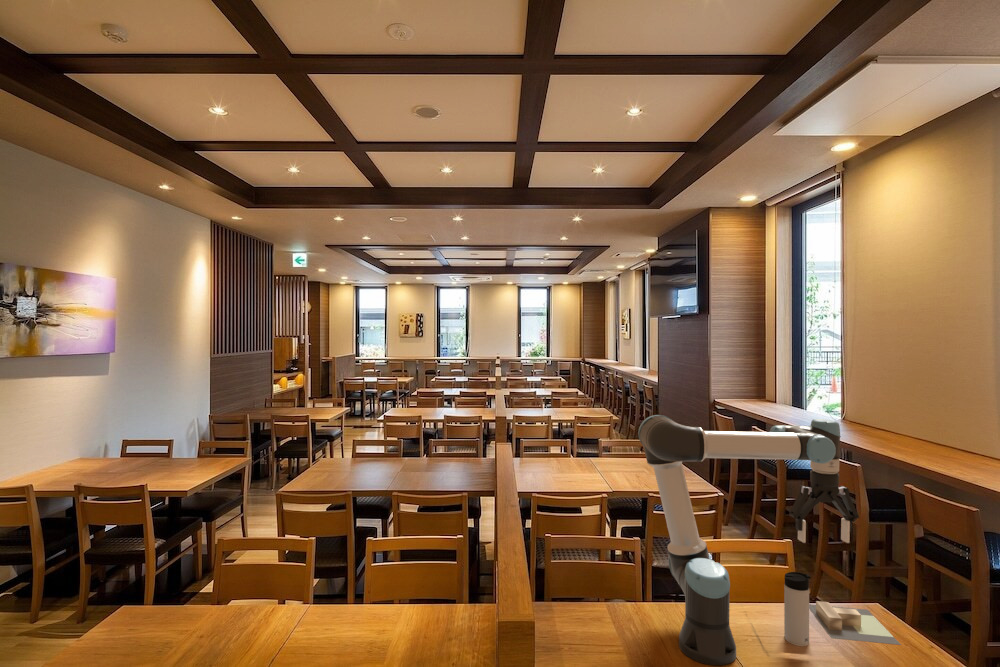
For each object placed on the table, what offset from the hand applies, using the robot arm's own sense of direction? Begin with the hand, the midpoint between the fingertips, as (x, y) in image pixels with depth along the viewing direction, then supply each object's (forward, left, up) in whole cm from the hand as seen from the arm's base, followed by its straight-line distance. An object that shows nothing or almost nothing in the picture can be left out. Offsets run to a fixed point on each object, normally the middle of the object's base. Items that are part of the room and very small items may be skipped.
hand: (823, 541), depth 163 cm
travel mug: (-11, -11, -27) cm, 31 cm away
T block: (+6, +2, -25) cm, 26 cm away
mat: (+8, +2, -26) cm, 28 cm away
